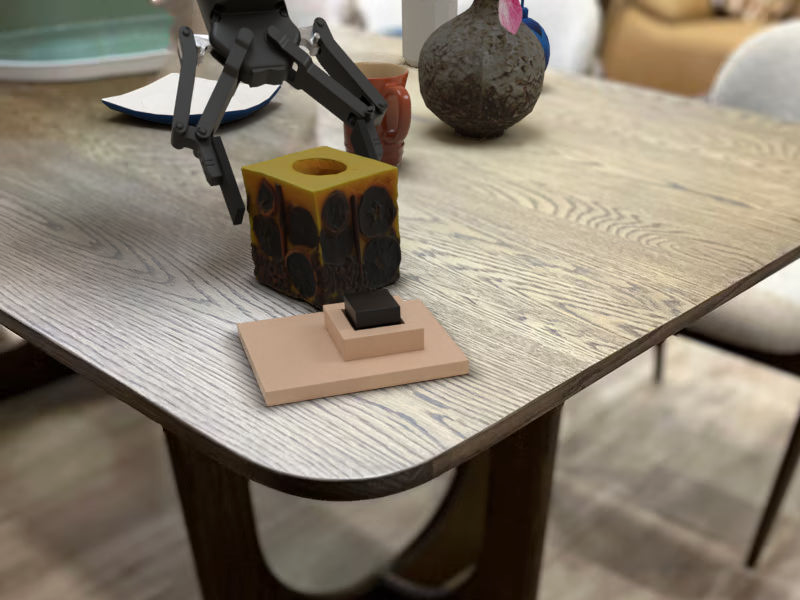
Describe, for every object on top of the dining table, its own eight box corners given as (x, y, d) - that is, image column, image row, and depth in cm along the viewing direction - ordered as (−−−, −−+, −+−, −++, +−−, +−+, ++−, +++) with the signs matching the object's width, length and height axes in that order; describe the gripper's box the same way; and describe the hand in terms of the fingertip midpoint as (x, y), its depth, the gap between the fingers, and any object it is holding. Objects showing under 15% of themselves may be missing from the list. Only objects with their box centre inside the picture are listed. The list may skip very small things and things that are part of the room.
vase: (479, 111, 126) (489, -158, 106) (569, 136, 117) (599, -153, 97) (395, 131, 117) (389, -159, 97) (485, 159, 108) (500, -154, 88)
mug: (327, 160, 106) (320, 66, 99) (386, 150, 110) (383, 59, 103) (376, 186, 99) (373, 87, 92) (437, 175, 103) (438, 78, 96)
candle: (324, 314, 74) (313, 193, 67) (251, 281, 78) (234, 166, 72) (404, 280, 79) (402, 166, 72) (332, 252, 84) (323, 142, 77)
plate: (224, 137, 113) (221, 115, 111) (95, 122, 118) (89, 100, 116) (292, 103, 127) (290, 82, 126) (174, 90, 132) (170, 70, 130)
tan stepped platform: (267, 406, 62) (261, 369, 60) (238, 336, 70) (233, 302, 68) (468, 373, 66) (470, 337, 64) (419, 311, 74) (419, 278, 72)
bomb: (470, 89, 136) (474, -25, 126) (511, 79, 142) (518, -32, 132) (518, 100, 131) (525, -18, 121) (558, 89, 137) (569, -25, 127)
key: (357, 334, 65) (355, 312, 64) (344, 315, 68) (343, 293, 67) (401, 327, 66) (400, 306, 65) (387, 309, 69) (386, 288, 68)
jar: (407, 70, 146) (405, -62, 133) (398, 58, 153) (395, -68, 140) (462, 68, 147) (465, -62, 135) (450, 57, 154) (453, -68, 142)
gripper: (88, -51, 67) (177, 203, 68) (370, -59, 76) (446, 164, 77) (91, 18, 74) (173, 248, 75) (350, 3, 83) (420, 207, 84)
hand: (312, 206), depth 76 cm, fingers open, 13 cm apart
